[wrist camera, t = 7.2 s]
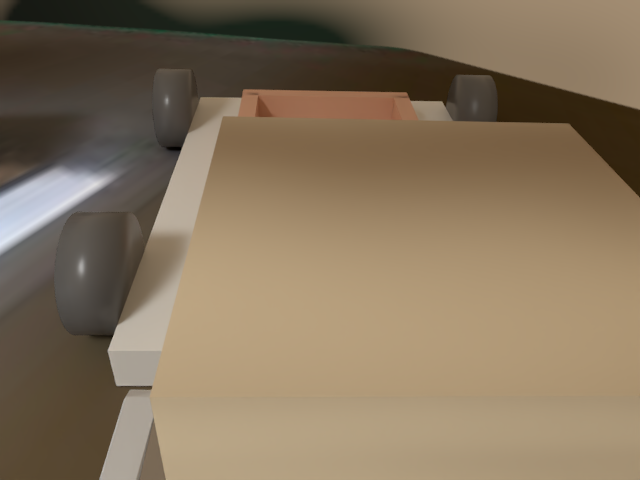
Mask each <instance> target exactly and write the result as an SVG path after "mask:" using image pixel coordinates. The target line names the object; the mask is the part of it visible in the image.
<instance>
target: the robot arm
mask: <svg viewBox="0 0 640 480" xmlns="http://www.w3.org/2000/svg"><path fill="white" fill-rule="evenodd" d="M150 394H151V390H130V391H129V392H128V394H127V395H126V397H125V398H124V401H123V405H122V408H121V411H120V414H119V418H118V421H117V424H116V427H115V431H114V434H113V437H112V440H111V444H110V447H109V450H108V453H107V457H106V460H105V463H104V466H103V470H102V473H101V476H100V479H99V480H166V478H165V473H164V468H163V463H162V458H161V453H160V447H159V442H158V437H157V432H156V427H155V422H154V417H153V412H152V407H151V402H150Z"/></svg>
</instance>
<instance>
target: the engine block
mask: <svg viewBox="0 0 640 480" xmlns="http://www.w3.org/2000/svg"><path fill="white" fill-rule="evenodd" d="M150 402H151V407H152V412H153V417H154V422H155V427H156V432H157V437H158V442H159V447H160V453H161V458H162V463H163V468H164V473H165V478H166V480H640V197H639V196H638V195H637V194H636V193H635V192H634V191H633V190H632V189H631V188H630V187H629V186H628V185H627V184H626V183H625V182H624V181H623V180H622V179H621V178H620V177H619V176H618V175H617V173H616V172H615V171H614V170H613V169H612V168H611V167H610V166H609V165H608V164H607V163H606V162H605V161H604V160H603V159H602V158H601V157H600V156H599V155H598V154H597V153H596V152H595V151H594V149H593V148H592V147H591V146H590V145H589V144H588V143H587V142H586V141H585V140H584V139H583V138H582V137H581V136H580V135H579V134H578V133H577V132H576V131H575V130H574V129H573V128H572V127H571V125H570V124H566V123H518V122H471V121H424V120H377V119H329V118H282V117H235V116H223V118H222V122H221V126H220V129H219V133H218V137H217V141H216V145H215V149H214V152H213V156H212V160H211V164H210V168H209V172H208V175H207V179H206V183H205V187H204V191H203V195H202V198H201V202H200V206H199V210H198V214H197V218H196V221H195V225H194V229H193V233H192V237H191V241H190V244H189V248H188V252H187V256H186V260H185V264H184V267H183V271H182V275H181V279H180V283H179V287H178V290H177V294H176V298H175V302H174V306H173V310H172V313H171V317H170V321H169V325H168V329H167V333H166V336H165V340H164V344H163V348H162V352H161V356H160V359H159V363H158V367H157V371H156V375H155V379H154V382H153V386H152V390H151V394H150Z"/></svg>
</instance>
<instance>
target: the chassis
mask: <svg viewBox="0 0 640 480" xmlns="http://www.w3.org/2000/svg"><path fill="white" fill-rule="evenodd" d="M152 107H153V120H154V127H155V133H156V137H157V140H158V142H159V144H160V146H161V147H182V150H181V153H180V155H179V158H178V161H177V164H176V166H175V169H174V172H173V174H172V177H171V180H170V183H169V185H168V188H167V191H166V194H165V196H164V199H163V202H162V204H161V207H160V210H159V213H158V215H157V218H156V221H155V224H154V226H153V229H152V232H151V234H150V237H149V240H148V243H147V245H146V248H145V251H144V243H143V237H142V232H141V228H140V225H139V222H138V220H137V218H136V217H135V215H134V214H133V213H131V212H75V213H74V214H72V215H71V216H70V217H69V219H68V220H67V221H66V223H65V225H64V227H63V230H62V232H61V235H60V239H59V243H58V247H57V253H56V260H55V274H54V283H55V296H56V303H57V308H58V312H59V316H60V318H61V321H62V323H63V325H64V327H65V328H66V330H67V331H68V332H69V333H70V334H72V335H113V338H112V341H111V343H110V346H109V349H108V354H109V358H110V362H111V366H112V370H113V374H114V378H115V382H116V386H153V382H154V379H155V375H156V371H157V367H158V363H159V359H160V356H161V352H162V348H163V344H164V340H165V336H166V333H167V329H168V325H169V321H170V317H171V313H172V310H173V306H174V302H175V298H176V294H177V290H178V287H179V283H180V279H181V275H182V271H183V267H184V264H185V260H186V256H187V252H188V248H189V244H190V241H191V237H192V233H193V229H194V225H195V221H196V218H197V214H198V210H199V206H200V202H201V198H202V195H203V191H204V187H205V183H206V179H207V175H208V172H209V168H210V164H211V160H212V156H213V152H214V149H215V145H216V141H217V137H218V133H219V129H220V126H221V122H222V118H223V116H235V117H282V118H329V119H377V120H424V121H471V122H496V120H497V109H498V101H497V90H496V85H495V82H494V80H493V78H492V77H491V76H489V75H456V76H455V77H454V79H453V81H452V83H451V86H450V89H449V93H448V98H447V104H446V108H445V106H444V104H443V102H442V101H410V99H409V97H408V94H407V93H406V92H353V91H299V90H246V89H244V90H243V94H242V98H221V97H201V98H200V101H199V104H198V93H197V85H196V80H195V76H194V73H193V71H192V70H191V69H158V70H157V71H156V74H155V77H154V82H153V94H152Z"/></svg>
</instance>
